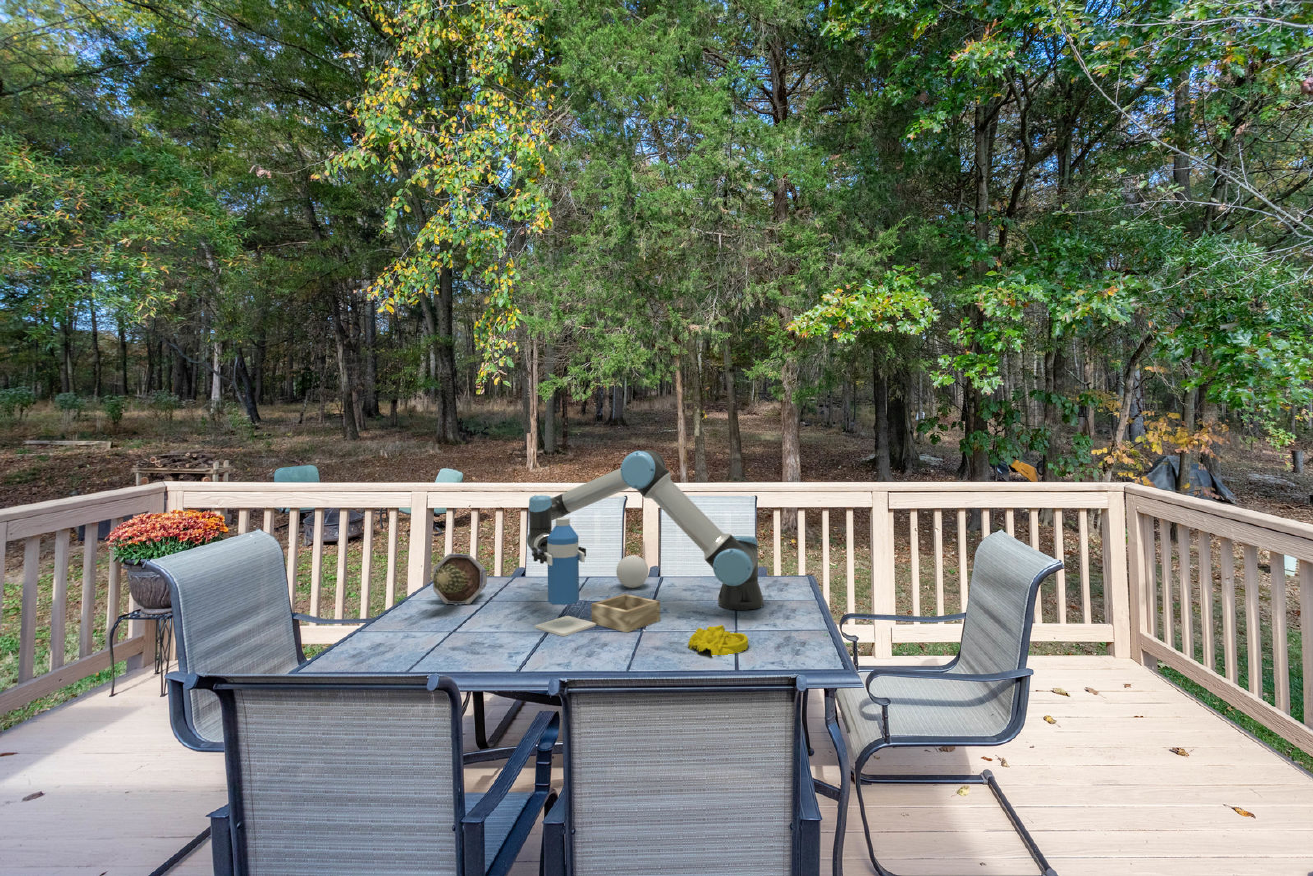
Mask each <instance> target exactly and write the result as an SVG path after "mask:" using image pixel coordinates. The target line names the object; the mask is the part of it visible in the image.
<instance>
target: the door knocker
mask: <svg viewBox="0 0 1313 876" xmlns="http://www.w3.org/2000/svg"><path fill="white" fill-rule="evenodd" d="M693 647H694V649H696V651H698V652H699V653H700V652H703V651H705V650H706V649H707V650H710V657H711V656H712V655H728V654H733V655H735V654H734V653H737V654H739V653H738V652H741V653H743V651H744V650H745V651H746V650H747V649H748V647H749V638H748V636H747V635H746V634H745V633H742V632H731V631H728V630H727V631H726V628H725V626H724V625H723V624H720V625H716V626H712V625H711V626H708V627H707V628H706V629H703V628H702V627H697V629H696V631H695V632H694V633H693V634H692V635H691V637H690V638H689V640H688V643H687V648H689V649H690V650H691V649H693ZM691 651H692V650H691ZM698 652H696V654H697V655H698V654H699V653H698Z"/></svg>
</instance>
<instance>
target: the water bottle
mask: <svg viewBox="0 0 1313 876" xmlns="http://www.w3.org/2000/svg"><path fill="white" fill-rule="evenodd" d="M578 547H579V535H578V533H576V531H575V530H574V528H573V527H572V526H571V523H570V517H561V518H557V519H555V525H554V528H553V529H552V532H551V533H550V534H549V536H548V537H547V553H548V554H550V555H551V556H552V565H551V566H550V565H548V564H547V602H548V603H550V604H552V605H554V606H555V605H556V606H568V605H572V604H576V603H578V602H579V600H580V575H579V574H580V572H579V571H580V570H579V569H580V568H579V566H580V565H579V564H580V563H579V562H580V561H579V552H578V551H579V549H578Z"/></svg>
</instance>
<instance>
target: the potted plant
mask: <svg viewBox="0 0 1313 876" xmlns="http://www.w3.org/2000/svg"><path fill="white" fill-rule="evenodd" d="M487 580H488V572H487V569H486V568H485V567H484V566H483V565H482V564H481V563H480V561H478V560H477V559H476V558H474V557H473V556H471V554H469V553H448V554H447V555H446V556H444V557H443V558H442V559H441V561H439V562H438V563H437V564H436V565H435V567H433V576H432V589H433V591H434V593H435V594H436V596H438V598H439V599H440V600H441V601H442V602H443V603H444V604H445V605H447V604H468V605H470V604H471V603H472V602H473V601H474V600H475V599H476V598H477V597H478V596H479V595H480V594H481V592H482V591H483V590H485V587H486V586H487V583H488V582H487Z"/></svg>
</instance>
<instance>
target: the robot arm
mask: <svg viewBox="0 0 1313 876" xmlns="http://www.w3.org/2000/svg"><path fill="white" fill-rule="evenodd" d="M671 476H672V475H671V471H669V470H668V469H667V468H666V462H665V459H664V458H663V456H662V455H661V454H660V453H659V452H657V451H655V450H652V449H646V450H645V449H644V450H635V451H633V452H631V453H630V454H628V455H627V456H625V457H624V459H623V460H622V463H621V465H620V467H619V468H617V469H615V470H613V471H610V472H608V473H607V474H604V475H602V476H599V477H598V478H595V479H593V480H590V481H588V482H585V483H583V484H581V485H579V486H576V487H575V488H572V489H570V490H568V491H565V492H563V493H561V494H559V495H556V496H554V497H551V496H549V495H546V494H545V495H542V494H541V495H532V496H530V497H529V500H528V521H529V528H528V529H529V530H528V531H529V532H528V535H527V537H526V544H527V546H528V547H529V548H530V551H531V557H533V562H538V561H539V564H541V565H543V564H545V563H546V564H547V566H548V565H550V566H551V565H552V556H551V555H550V554H548V553H547V537H548V536H549V534H550V533H551V532H552V530H553V529H552V526H553V525H552V521H554V520H556V519H557V518H565V516H567V515H570V514H571V513H574V512H575V511H578V510H581V509H583V508H585V507H588V506H589V505H592V504H594V503H596V502H600V501H602V500H604V499H607V498H609V497H612V496H614V495H616V494H618V493H621V492H623V491H625V490H627V489H630V488H631V489H633V490H634V489H635V490H636V491H637V492H638V493H640V495H641V496H642V497H643V498H644V499H652V500H653V501H654V502H655V503H656V505H658V506H659V508H660V509H662V511H663V512H664V513H665V514H666V515H667V516H668V517H669V518H670V519H671V520H672V521H673V522H674V523H675V524H676V525H677V526H678V528H680V529H681V530H682V531H683V532H684V533H685V534H686V536H688V538H689V539H690V540H691V541H692V542H694V544H695V545H696V546H698V548H699V549H700V550H701V551H702V552H703V554H704V561H706V563H707V564H708V565H709V566H710V567H711V568H712V570H713V573H714V576H715V578H717V580H718V581H719V582H720V583H722V584H721V586H720V589H719V593H718V597H717V604H719V605H718V606H720V607H721V608H724V609H727V610H732V609H735V610H734V611H750V610H749V609H753V610H757V608H758V609H761V608H762V607H763V606H764V605H763V604H765V603H764V595H763V593H762V589H761V587H760V584H759V573H758V571H759V569H758V568H759V562H758V561H759V559H758V547H759V544H758V538H756V536H750V535H749V536H748V535H732V534H731V533H723V531H721V529H720V528H719V527H718V526H717V525H716V524H715V523H714V522H713V521H712V520H711V519H710V518H708V516H707V515H706V514H705V513H704V512H703V511H702V510H701V509H700V507H698V506H697V505H696V504H695V503H694V501H692V500H691V499H690V498H689V497H688V496H687V495H686V494H685V493H684V491H682V490H681V489H680V487H679V486H677V485H676V484H675V482H674V481H672V477H671ZM578 549H579V551H578V552H579V562H581V563H585V559H586V557H587V548H585V547H582V546H578ZM761 606H762V607H761ZM760 607H761V608H760Z"/></svg>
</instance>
